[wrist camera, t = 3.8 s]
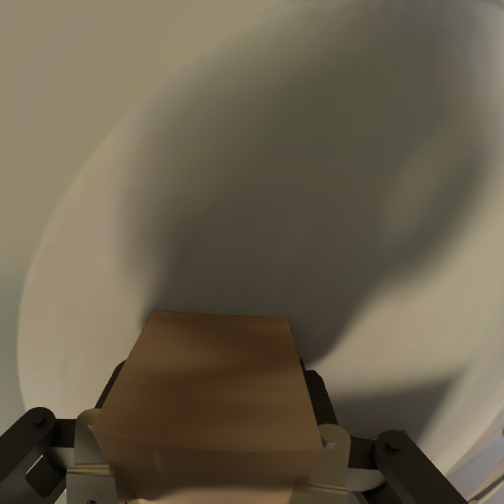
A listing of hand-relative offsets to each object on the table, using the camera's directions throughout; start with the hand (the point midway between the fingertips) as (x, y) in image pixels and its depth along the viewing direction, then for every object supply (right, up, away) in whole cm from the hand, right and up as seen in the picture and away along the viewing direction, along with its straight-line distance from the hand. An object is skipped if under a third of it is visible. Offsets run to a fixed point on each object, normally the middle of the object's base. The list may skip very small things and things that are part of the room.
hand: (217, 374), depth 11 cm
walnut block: (0, 0, 0) cm, 0 cm away
